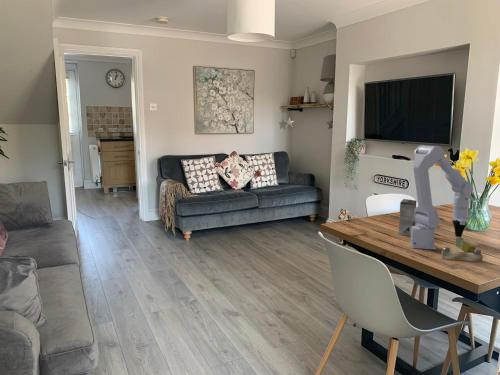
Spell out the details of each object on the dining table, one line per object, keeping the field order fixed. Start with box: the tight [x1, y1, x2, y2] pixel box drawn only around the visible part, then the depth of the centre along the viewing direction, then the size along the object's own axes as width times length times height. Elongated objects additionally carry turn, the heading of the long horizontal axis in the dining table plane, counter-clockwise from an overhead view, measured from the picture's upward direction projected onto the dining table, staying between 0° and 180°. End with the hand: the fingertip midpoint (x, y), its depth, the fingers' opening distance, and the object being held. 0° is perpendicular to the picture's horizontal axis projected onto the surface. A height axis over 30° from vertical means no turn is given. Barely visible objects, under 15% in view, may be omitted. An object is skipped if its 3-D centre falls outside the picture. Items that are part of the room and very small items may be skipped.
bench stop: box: [441, 249, 483, 263], centre depth 154 cm, size 14×2×2 cm, turn 72°
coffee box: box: [398, 198, 417, 237], centre depth 189 cm, size 9×6×16 cm
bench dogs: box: [442, 246, 482, 255], centre depth 154 cm, size 13×2×4 cm, turn 72°
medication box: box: [455, 237, 476, 253], centre depth 165 cm, size 12×3×4 cm, turn 175°
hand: (458, 236), depth 175 cm, fingers closed
